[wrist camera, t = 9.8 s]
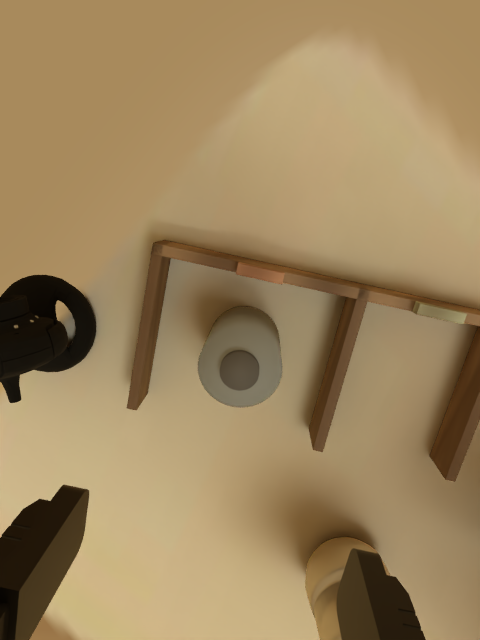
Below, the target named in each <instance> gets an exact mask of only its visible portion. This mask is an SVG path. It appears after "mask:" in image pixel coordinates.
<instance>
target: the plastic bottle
mask: <svg viewBox="0 0 480 640" xmlns="http://www.w3.org/2000/svg"><path fill="white" fill-rule="evenodd" d="M353 548H355V549H360V550H364V551H369V552H374V553H377V551H376V550H375V549H373V548H372V547H371V546H370V545H368V544H366V543H364V542H362V541H360V540H358V539H355V538H350V537H338V538H333V539H330V540H328V541H326V542H324V543H322V544H321V545H320V546H319V547H318V548H317V549H316V550H315V551H314V552H313V554H312V555H311V557H310V558H309V560H308V563H307V567H306V580H305V587H306V592H307V596H308V600H309V603H310V607H311V610H312V612H313V615H314V617H315V620H316V624H317V629H318V633H319V638H320V640H342V639H341V633H340V628H339V622H338V616H337V607H336V602H337V592H338V588H339V584H340V581H341V578H342V575H343V572H344V569H345V566H346V563H347V560H348V557H349V554H350V551H351V550H352V549H353ZM381 560H382V559H381ZM382 563H383V566H384V569H385V572H386V575H389V576H390V574H389V572H388V569H387V567H386V566H385V564H384V562H383V560H382Z"/></svg>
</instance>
